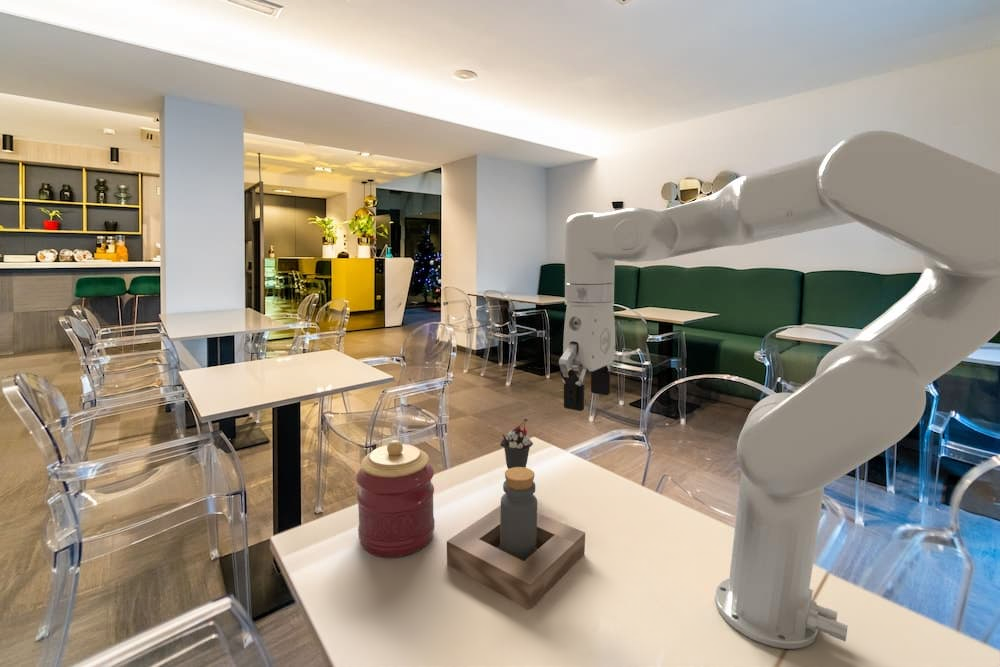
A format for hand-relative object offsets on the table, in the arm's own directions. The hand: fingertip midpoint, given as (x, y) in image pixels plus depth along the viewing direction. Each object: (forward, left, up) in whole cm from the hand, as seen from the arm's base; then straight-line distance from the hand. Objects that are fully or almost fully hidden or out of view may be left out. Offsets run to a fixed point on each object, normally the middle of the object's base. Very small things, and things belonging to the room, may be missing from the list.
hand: (587, 401), depth 79 cm
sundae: (+20, -9, -26) cm, 34 cm away
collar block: (+6, +10, -26) cm, 28 cm away
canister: (+26, +18, -26) cm, 41 cm away
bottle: (+6, +10, -26) cm, 28 cm away
